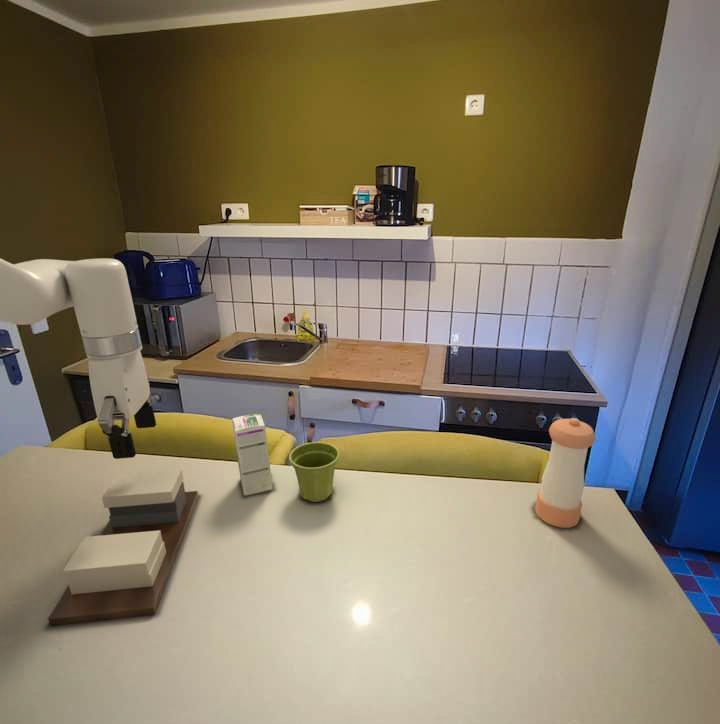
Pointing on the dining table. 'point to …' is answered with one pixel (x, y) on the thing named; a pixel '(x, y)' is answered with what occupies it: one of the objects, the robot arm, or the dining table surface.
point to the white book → (143, 488)
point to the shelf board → (132, 599)
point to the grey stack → (149, 512)
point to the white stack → (115, 562)
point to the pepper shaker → (564, 473)
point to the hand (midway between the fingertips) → (136, 441)
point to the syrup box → (252, 453)
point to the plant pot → (314, 469)
